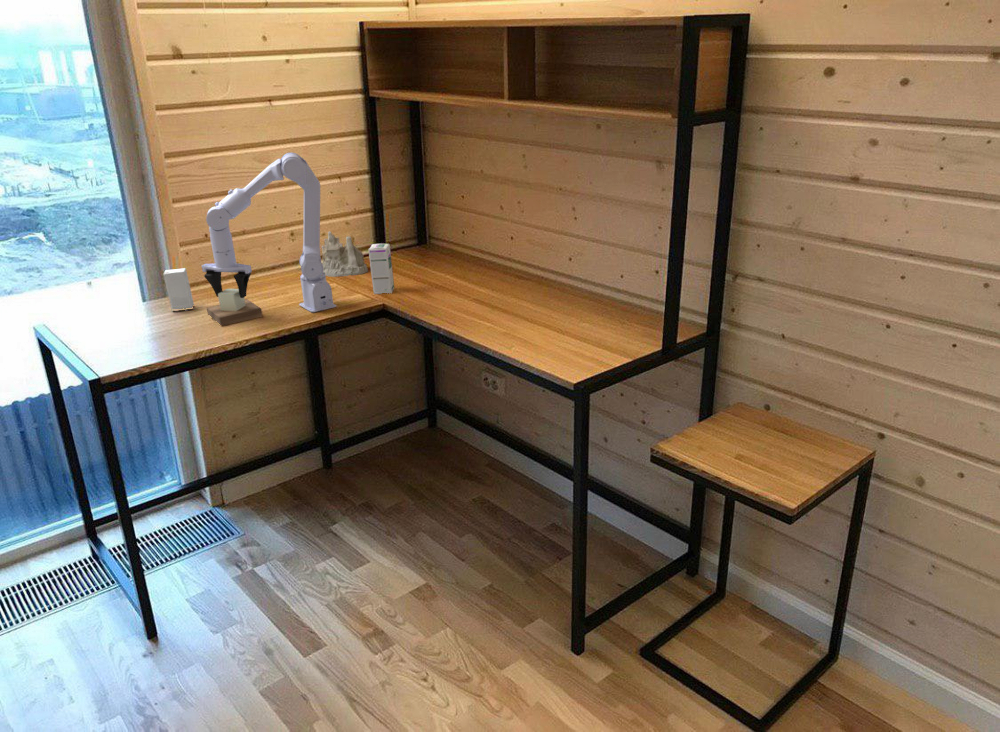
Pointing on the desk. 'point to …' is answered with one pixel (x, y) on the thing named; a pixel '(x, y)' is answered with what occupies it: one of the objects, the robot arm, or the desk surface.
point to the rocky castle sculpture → (342, 258)
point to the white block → (230, 300)
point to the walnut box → (235, 313)
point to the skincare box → (178, 288)
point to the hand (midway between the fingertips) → (231, 296)
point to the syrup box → (381, 268)
